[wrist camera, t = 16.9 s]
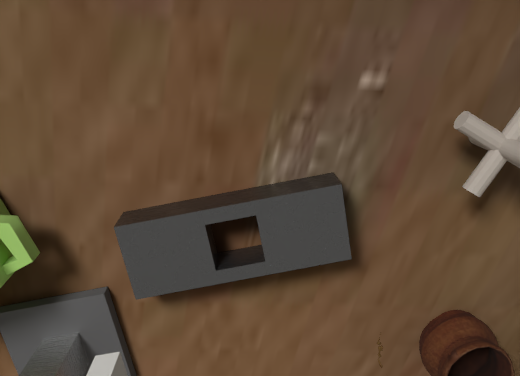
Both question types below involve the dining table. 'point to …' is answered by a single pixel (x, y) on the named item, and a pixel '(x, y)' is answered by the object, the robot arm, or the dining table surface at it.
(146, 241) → the grey block with hole
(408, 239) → the dining table surface
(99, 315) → the rubber mat
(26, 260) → the green block with pegs
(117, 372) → the robot arm
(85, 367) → the steel peg
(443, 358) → the ceramic pot
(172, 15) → the dining table surface
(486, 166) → the white crossed rods piece
